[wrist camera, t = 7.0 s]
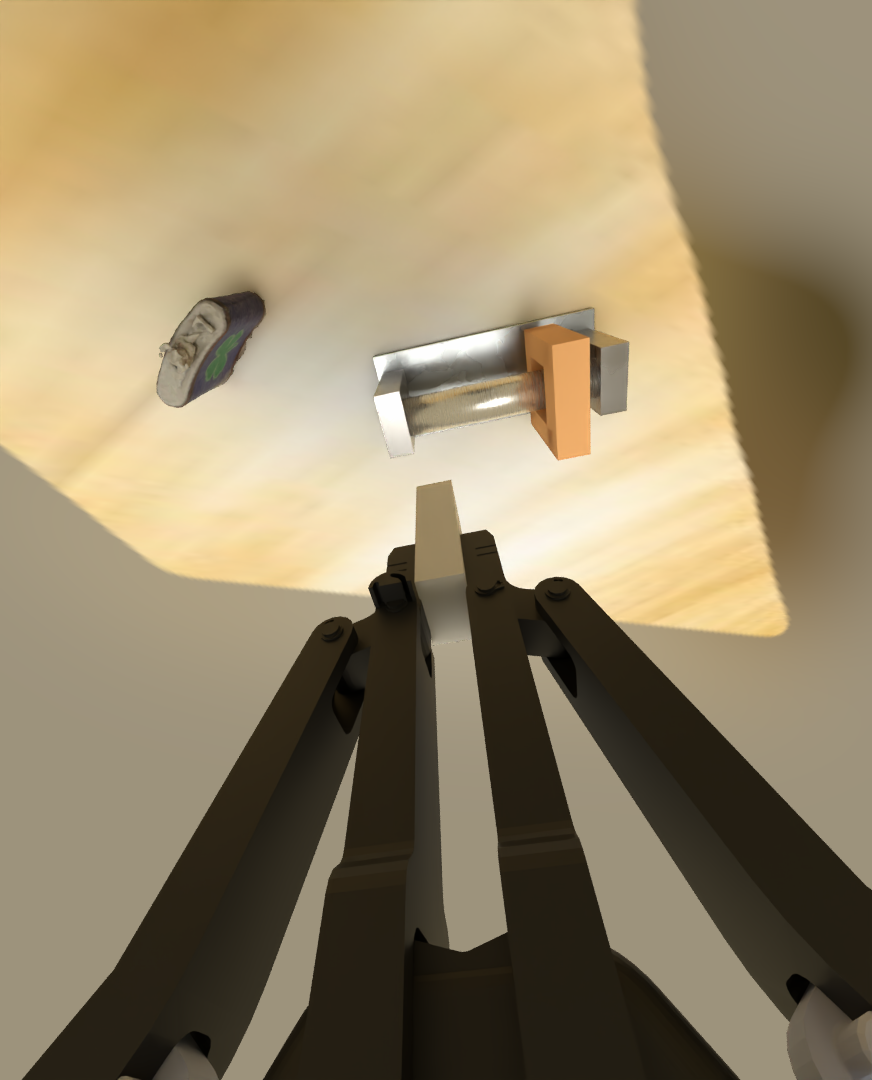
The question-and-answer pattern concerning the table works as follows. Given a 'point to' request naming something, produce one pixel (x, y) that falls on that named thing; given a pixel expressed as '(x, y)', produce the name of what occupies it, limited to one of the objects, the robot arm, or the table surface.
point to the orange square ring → (561, 388)
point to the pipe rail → (485, 380)
